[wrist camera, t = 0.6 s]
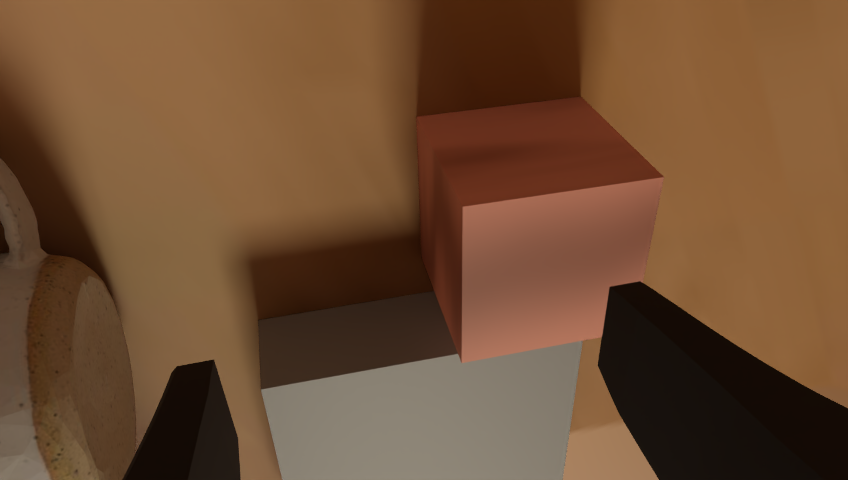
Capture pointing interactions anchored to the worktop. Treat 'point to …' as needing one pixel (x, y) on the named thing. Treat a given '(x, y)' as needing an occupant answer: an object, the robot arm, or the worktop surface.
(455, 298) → the red cube
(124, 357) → the ceramic mug
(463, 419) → the grey block
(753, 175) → the worktop surface
